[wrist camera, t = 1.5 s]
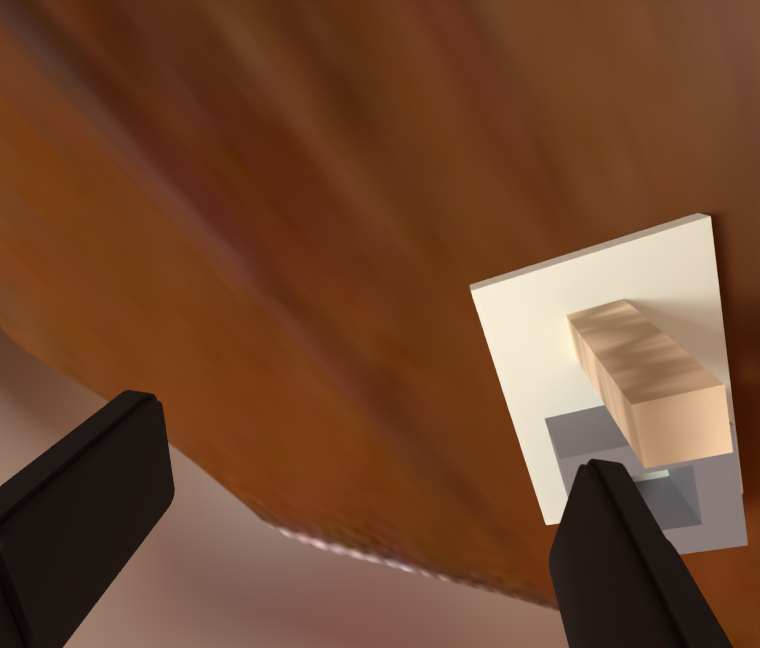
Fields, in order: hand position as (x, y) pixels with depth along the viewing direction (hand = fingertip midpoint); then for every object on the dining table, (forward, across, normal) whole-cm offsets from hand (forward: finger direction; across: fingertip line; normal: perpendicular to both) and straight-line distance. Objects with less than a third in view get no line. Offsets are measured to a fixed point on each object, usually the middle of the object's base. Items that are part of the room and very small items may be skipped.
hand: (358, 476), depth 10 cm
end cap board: (+25, -17, +10) cm, 32 cm away
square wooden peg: (+24, -14, +5) cm, 28 cm away
